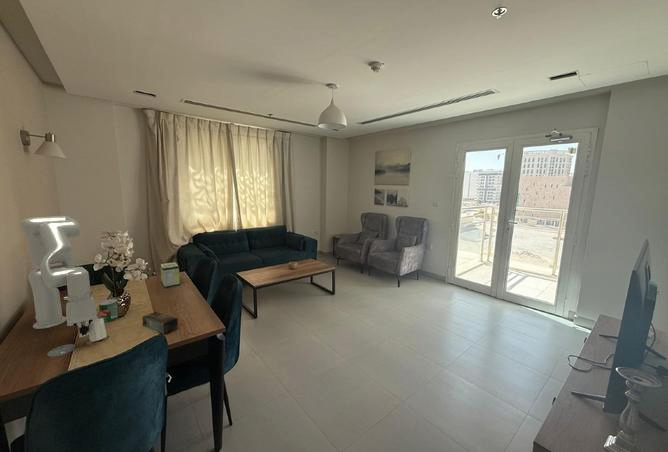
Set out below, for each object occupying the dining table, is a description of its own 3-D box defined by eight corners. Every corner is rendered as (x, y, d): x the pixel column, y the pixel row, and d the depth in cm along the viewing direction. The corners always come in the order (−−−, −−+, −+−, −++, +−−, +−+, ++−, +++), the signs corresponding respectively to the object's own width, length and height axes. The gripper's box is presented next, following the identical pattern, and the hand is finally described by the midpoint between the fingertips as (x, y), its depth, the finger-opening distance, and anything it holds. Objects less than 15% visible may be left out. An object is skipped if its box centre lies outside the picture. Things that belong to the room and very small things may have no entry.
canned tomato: (97, 324, 147) (95, 305, 145) (105, 317, 154) (103, 299, 153) (114, 322, 149) (112, 303, 148) (121, 316, 157) (119, 298, 155)
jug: (107, 337, 131) (104, 319, 131) (82, 345, 124) (78, 326, 124) (105, 335, 135) (101, 317, 135) (80, 343, 128) (77, 325, 128)
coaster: (42, 355, 119) (42, 353, 119) (66, 344, 128) (66, 342, 128) (56, 359, 117) (56, 357, 117) (80, 347, 126) (80, 346, 126)
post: (82, 343, 128) (80, 329, 127) (101, 334, 137) (99, 321, 136) (95, 346, 126) (93, 332, 125) (113, 337, 135) (112, 324, 134)
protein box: (176, 280, 218) (175, 261, 216) (180, 285, 207) (179, 266, 205) (161, 282, 212) (159, 263, 210) (164, 288, 200) (163, 268, 198)
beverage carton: (157, 320, 153) (156, 309, 152) (179, 328, 145) (178, 317, 144) (142, 326, 146) (141, 315, 145) (164, 335, 138) (163, 323, 137)
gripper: (55, 303, 116) (61, 343, 118) (101, 295, 126) (105, 331, 128) (58, 298, 122) (63, 336, 124) (101, 290, 131) (105, 326, 134)
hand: (84, 334), depth 126 cm, fingers closed
